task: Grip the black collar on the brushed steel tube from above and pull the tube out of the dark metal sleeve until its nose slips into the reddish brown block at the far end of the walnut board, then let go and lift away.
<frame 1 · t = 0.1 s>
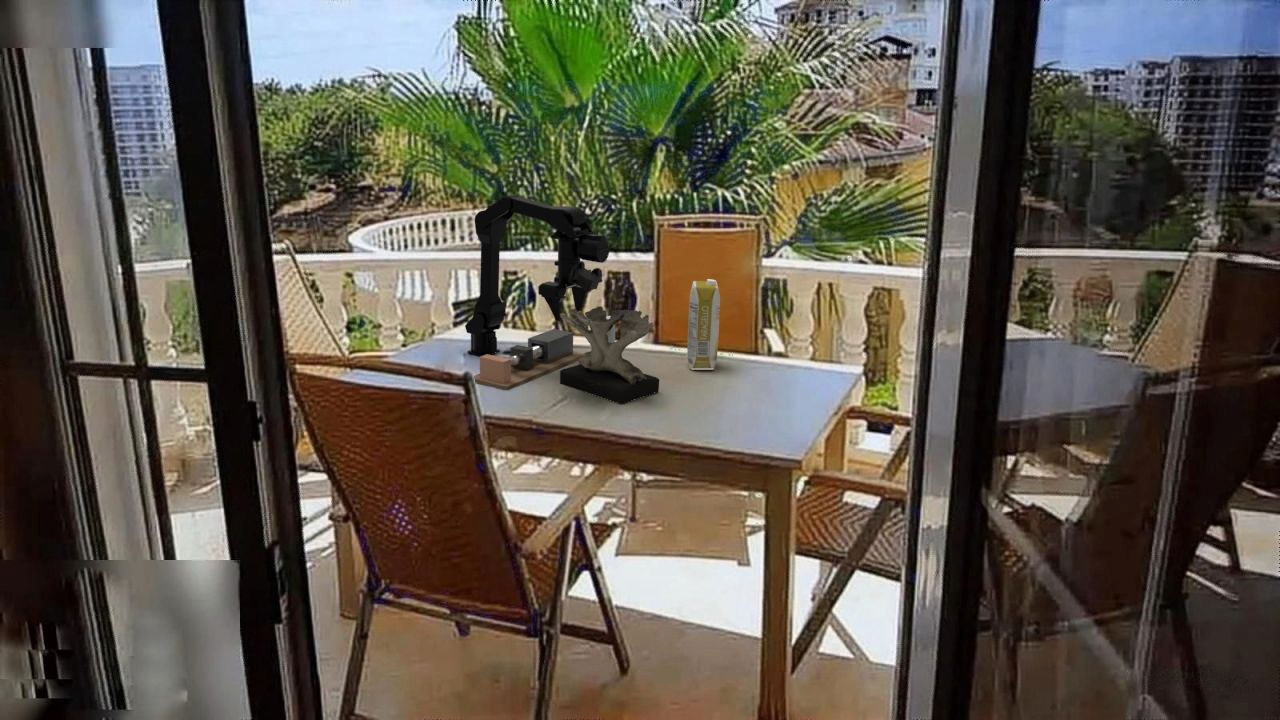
hand: (568, 317, 263), 15 cm above the table, tool pointing down, fingers open, 9 cm apart
reddish brown block: (495, 368, 255), on the walnut board, point 4 cm above the table
sleeve: (550, 346, 275), on the walnut board, point 4 cm above the table
skincare box: (602, 360, 278), on the table
coral: (604, 393, 252), on the table
steel tube: (536, 351, 269), point 4 cm above the table, slide at 0.0 cm
walnut board: (550, 360, 276), on the table
juice carton: (701, 367, 275), on the table
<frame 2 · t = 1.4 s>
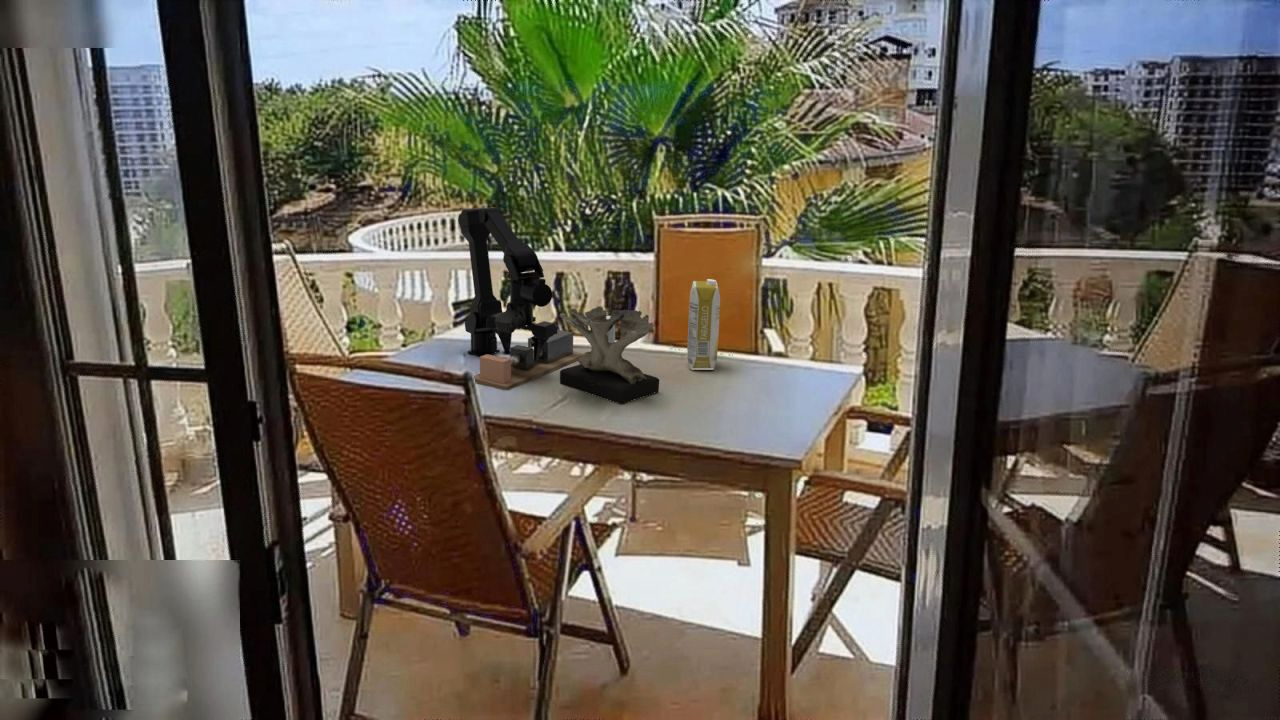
hand: (521, 357, 264), 4 cm above the table, tool pointing down, fingers open, 9 cm apart
nothing on the table moved.
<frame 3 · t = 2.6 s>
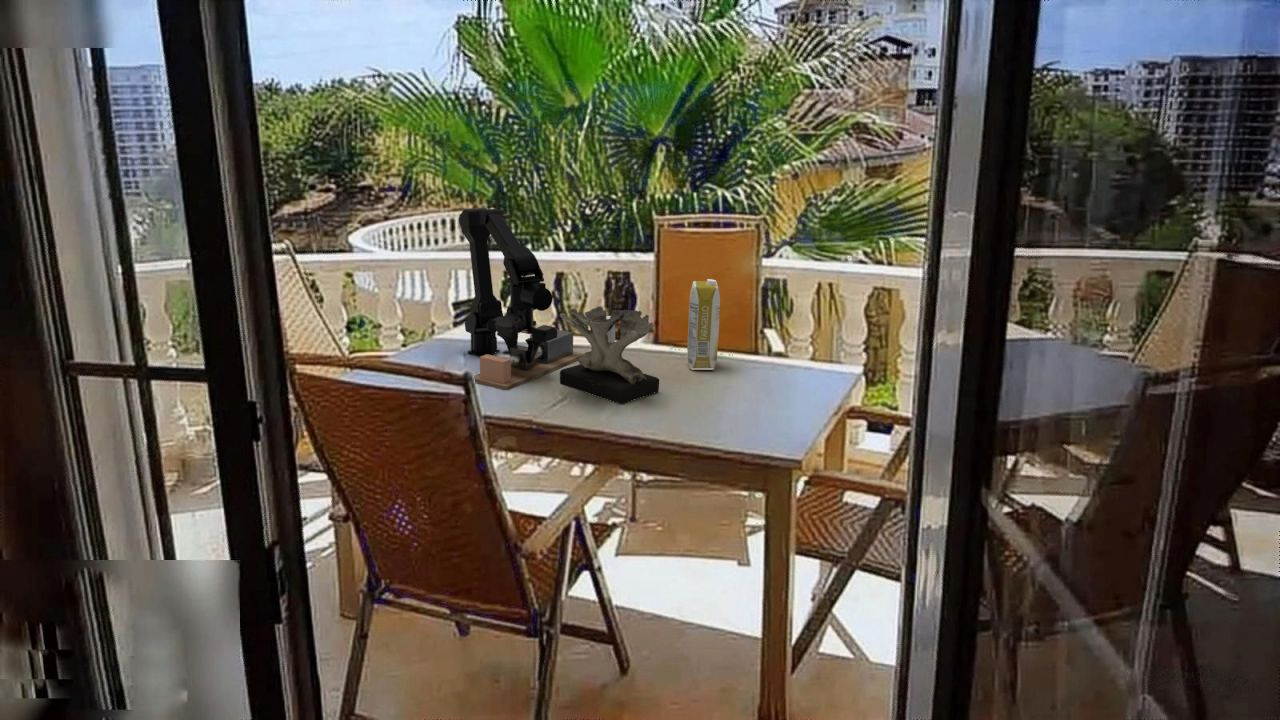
hand: (521, 361, 264), 3 cm above the table, tool pointing down, fingers closed on steel tube, 5 cm apart
steel tube: (536, 351, 269), point 4 cm above the table, slide at 0.0 cm, touching gripper
everything else where it was.
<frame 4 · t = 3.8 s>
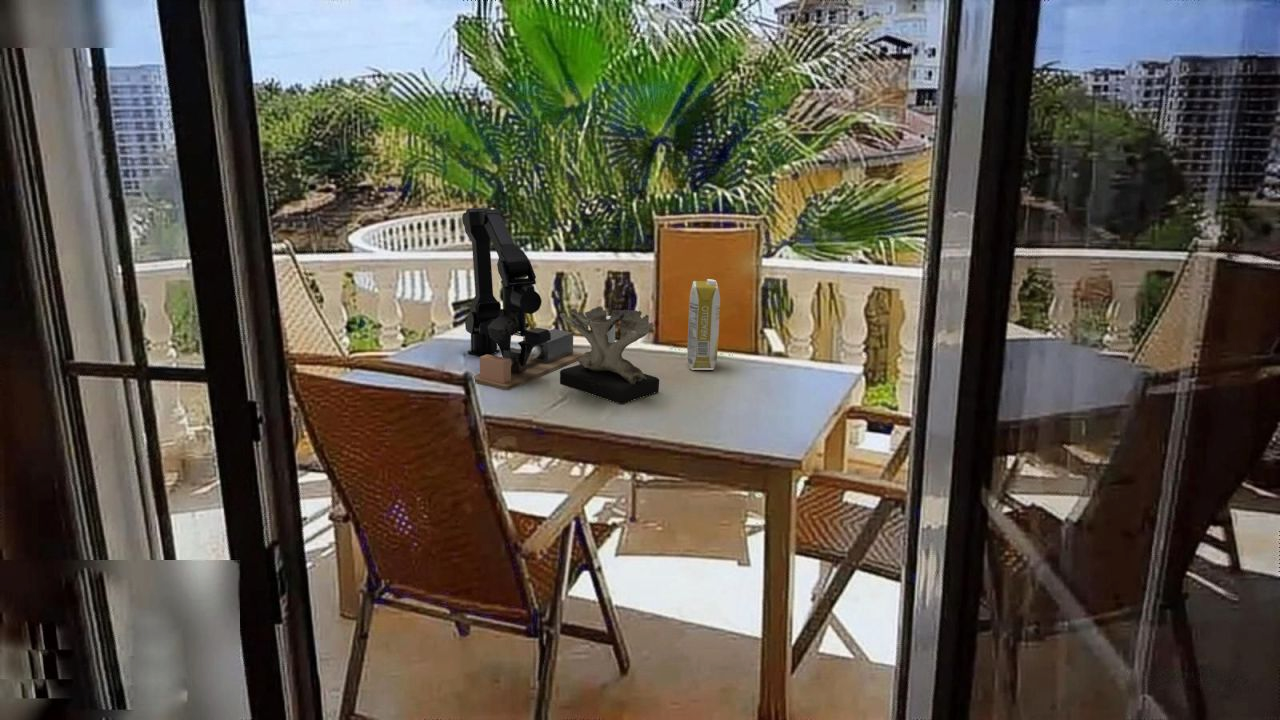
hand: (514, 363, 262), 3 cm above the table, tool pointing down, fingers closed on steel tube, 5 cm apart
steel tube: (529, 354, 267), point 4 cm above the table, slide at 3.0 cm, touching gripper
everything else where it was.
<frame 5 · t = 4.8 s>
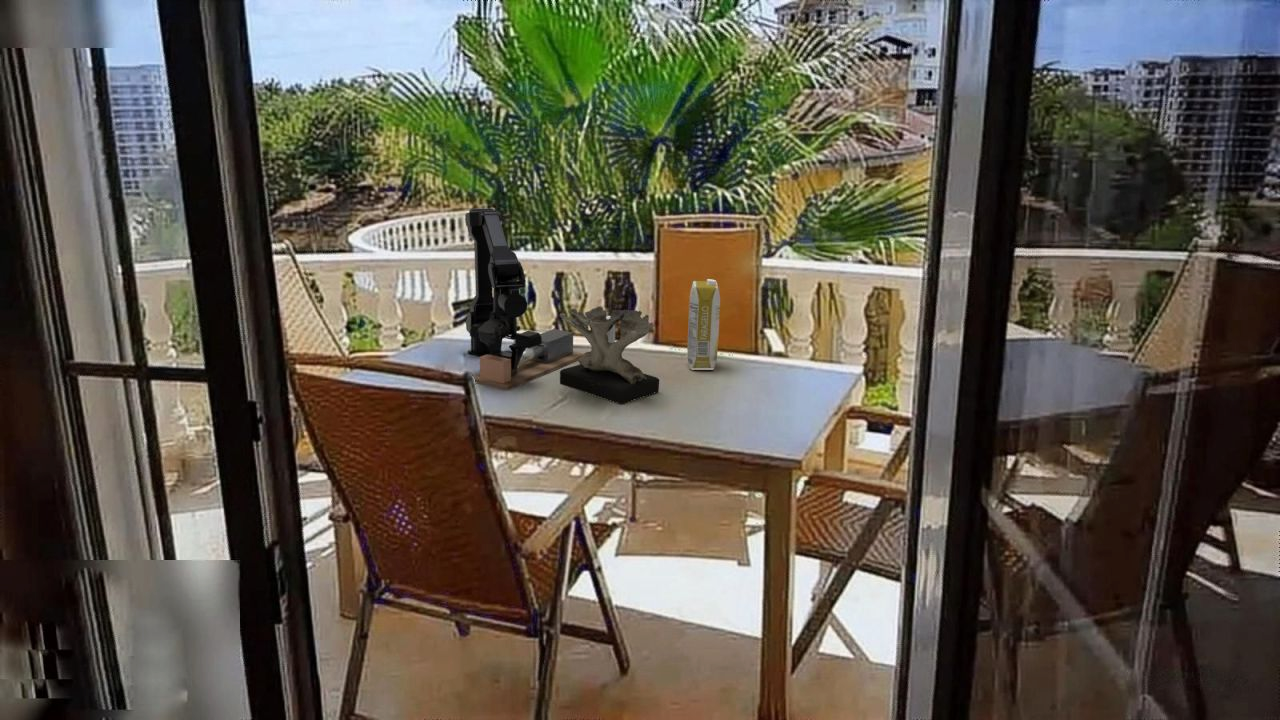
hand: (505, 367, 259), 3 cm above the table, tool pointing down, fingers closed on steel tube, 5 cm apart
steel tube: (521, 357, 264), point 4 cm above the table, slide at 6.8 cm, touching gripper
everything else where it was.
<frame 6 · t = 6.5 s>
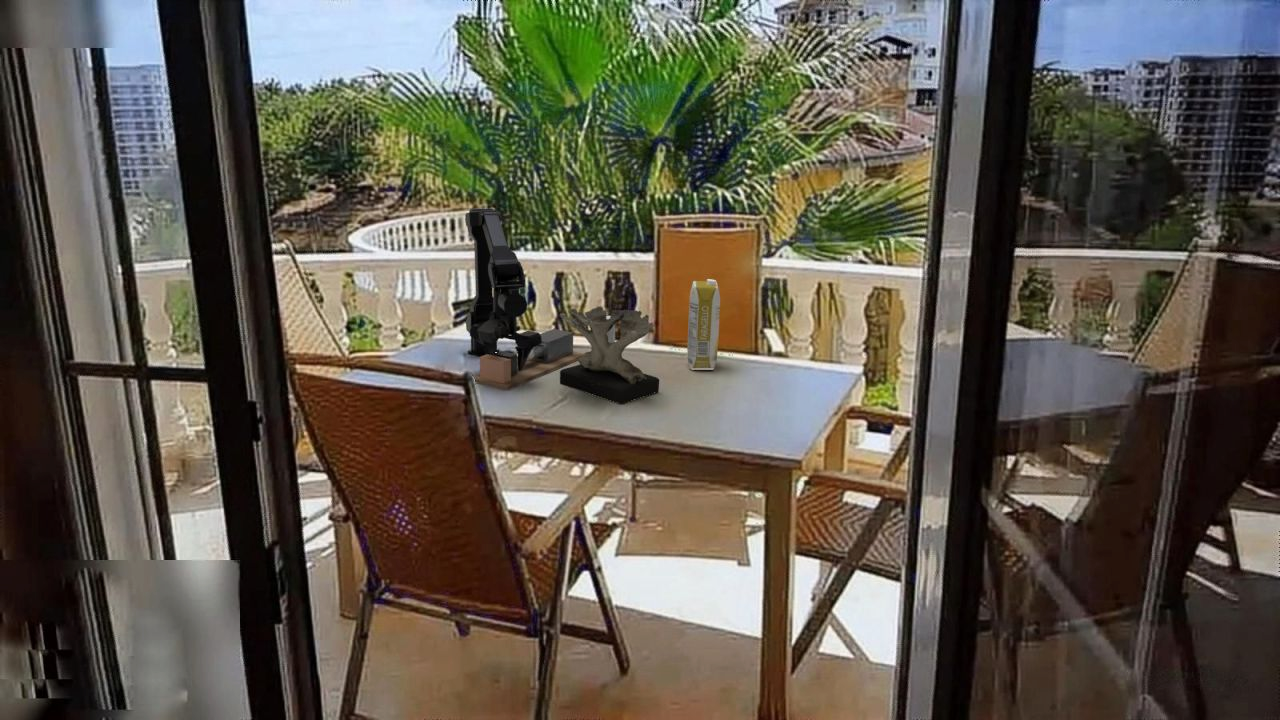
hand: (505, 367, 258), 3 cm above the table, tool pointing down, fingers open, 9 cm apart
steel tube: (520, 357, 264), point 4 cm above the table, slide at 6.9 cm
everything else where it was.
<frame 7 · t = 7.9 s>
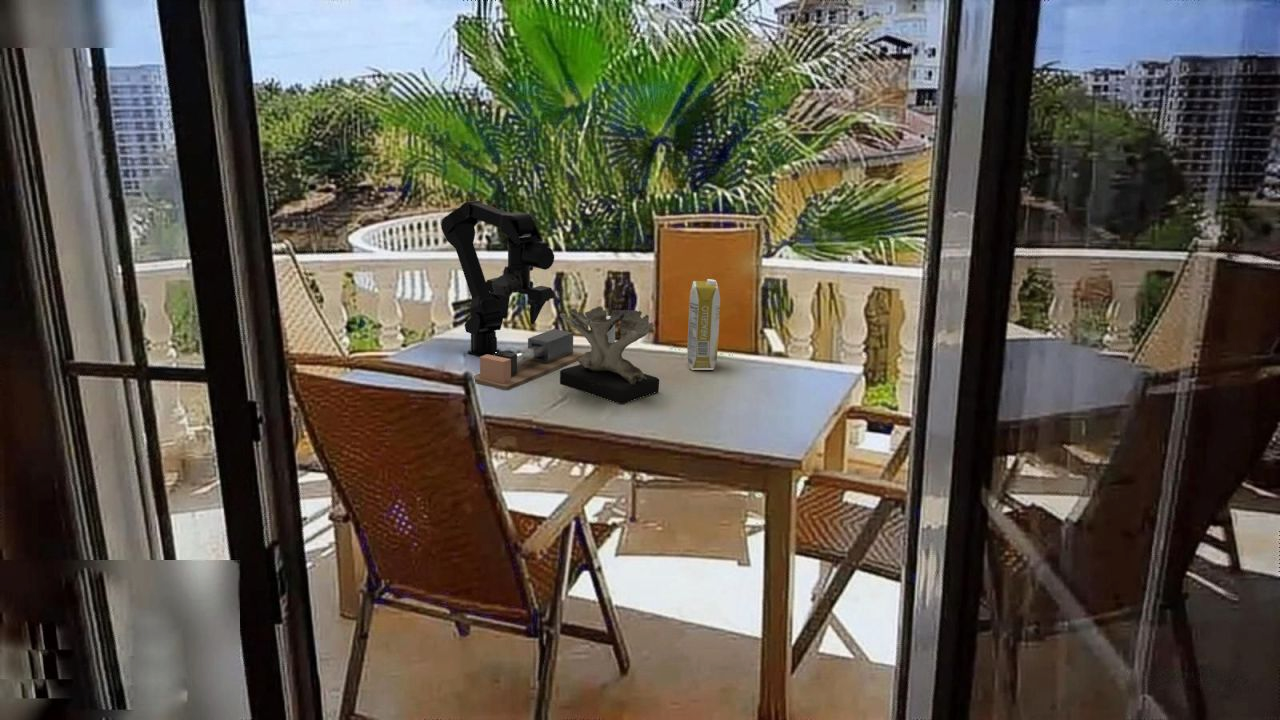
hand: (518, 321, 268), 12 cm above the table, tool pointing down, fingers open, 9 cm apart
nothing on the table moved.
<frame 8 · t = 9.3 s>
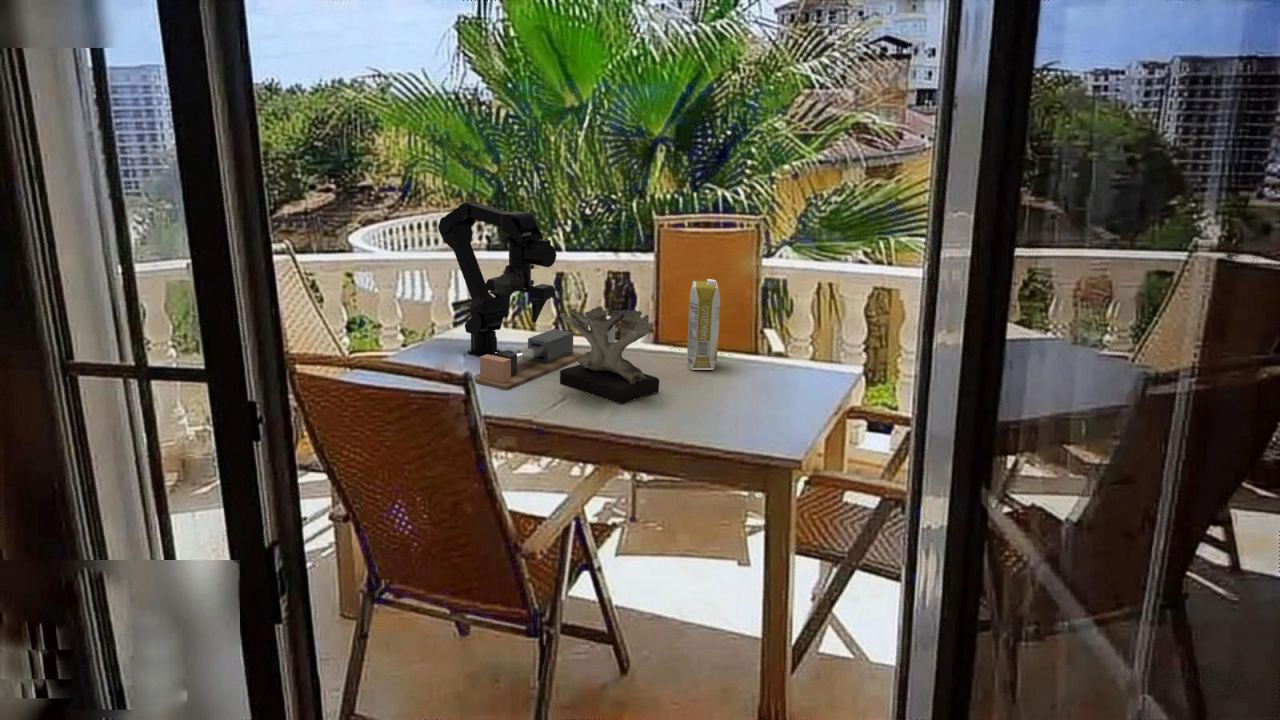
hand: (520, 319, 269), 12 cm above the table, tool pointing down, fingers open, 9 cm apart
nothing on the table moved.
at the end: steel tube slide at 6.9 cm; the gripper is holding nothing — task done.
